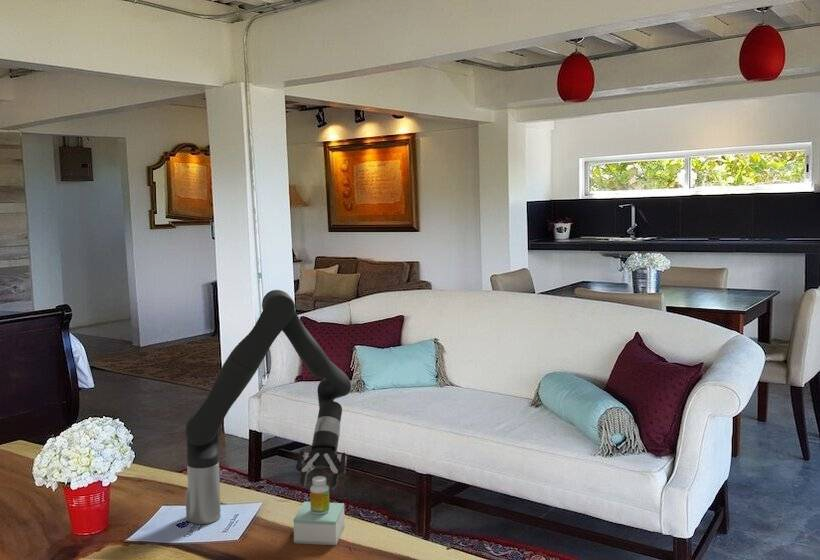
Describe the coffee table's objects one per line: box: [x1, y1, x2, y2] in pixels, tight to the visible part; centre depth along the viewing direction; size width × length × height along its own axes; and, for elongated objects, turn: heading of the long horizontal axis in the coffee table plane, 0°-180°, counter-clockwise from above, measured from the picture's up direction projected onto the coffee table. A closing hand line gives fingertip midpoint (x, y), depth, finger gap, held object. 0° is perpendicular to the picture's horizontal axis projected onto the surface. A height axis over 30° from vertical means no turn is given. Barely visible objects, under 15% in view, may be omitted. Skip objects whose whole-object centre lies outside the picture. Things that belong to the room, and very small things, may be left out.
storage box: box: [293, 507, 345, 546], centre depth 217 cm, size 12×12×6 cm
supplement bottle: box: [309, 475, 330, 514], centre depth 216 cm, size 5×5×10 cm
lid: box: [293, 501, 345, 525], centre depth 216 cm, size 12×12×1 cm
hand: (318, 487), depth 215 cm, fingers open, 8 cm apart
